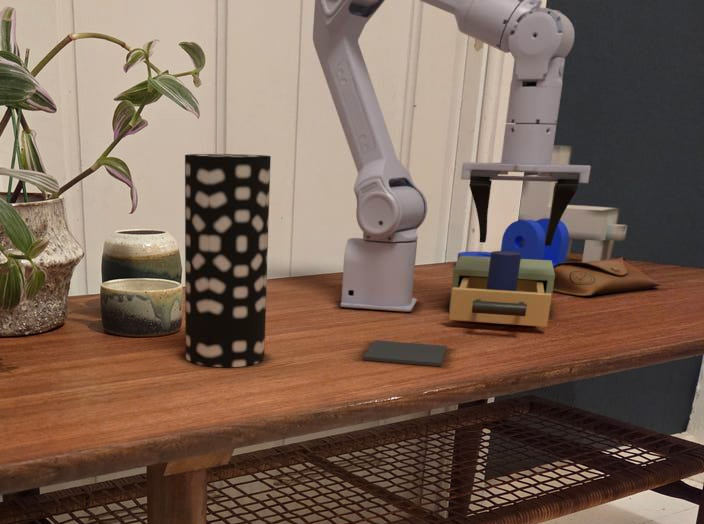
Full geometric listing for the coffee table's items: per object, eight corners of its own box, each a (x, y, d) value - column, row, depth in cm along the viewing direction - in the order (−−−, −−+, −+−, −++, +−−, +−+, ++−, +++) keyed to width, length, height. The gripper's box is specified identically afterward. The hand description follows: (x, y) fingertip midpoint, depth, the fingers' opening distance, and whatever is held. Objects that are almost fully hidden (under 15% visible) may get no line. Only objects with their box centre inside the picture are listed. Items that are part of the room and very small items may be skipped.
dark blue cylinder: (484, 307, 110) (490, 254, 108) (485, 302, 113) (491, 250, 111) (514, 309, 109) (521, 255, 107) (514, 303, 112) (521, 251, 110)
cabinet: (548, 318, 114) (555, 274, 112) (449, 311, 118) (453, 269, 115) (545, 300, 126) (551, 260, 124) (455, 294, 130) (459, 255, 127)
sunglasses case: (590, 294, 127) (577, 251, 128) (552, 312, 133) (539, 271, 134) (665, 285, 136) (652, 244, 137) (626, 302, 142) (613, 263, 143)
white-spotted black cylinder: (175, 351, 95) (173, 153, 88) (246, 345, 98) (251, 154, 90) (200, 370, 88) (201, 157, 80) (276, 363, 91) (284, 157, 83)
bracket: (563, 275, 147) (572, 219, 144) (532, 279, 143) (540, 222, 140) (477, 261, 161) (483, 210, 158) (446, 265, 156) (452, 212, 153)
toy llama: (609, 272, 152) (631, 148, 144) (512, 261, 162) (528, 145, 155) (624, 267, 157) (645, 147, 150) (529, 257, 168) (545, 145, 160)
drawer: (547, 334, 101) (552, 301, 100) (446, 326, 104) (449, 294, 103) (544, 308, 116) (548, 278, 115) (455, 302, 119) (458, 273, 118)
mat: (363, 360, 93) (363, 356, 92) (374, 343, 100) (374, 340, 100) (440, 366, 90) (441, 363, 90) (446, 349, 98) (446, 345, 97)
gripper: (465, 123, 102) (452, 243, 107) (599, 125, 98) (579, 250, 103) (468, 123, 108) (456, 237, 113) (594, 125, 104) (575, 243, 109)
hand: (514, 243), depth 109 cm, fingers open, 7 cm apart
